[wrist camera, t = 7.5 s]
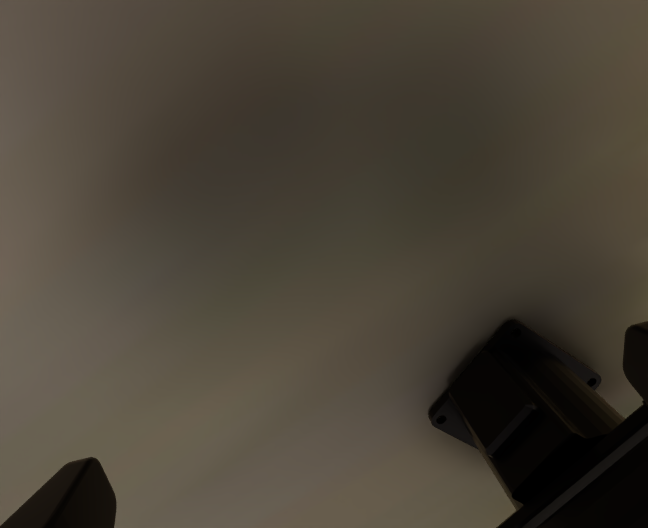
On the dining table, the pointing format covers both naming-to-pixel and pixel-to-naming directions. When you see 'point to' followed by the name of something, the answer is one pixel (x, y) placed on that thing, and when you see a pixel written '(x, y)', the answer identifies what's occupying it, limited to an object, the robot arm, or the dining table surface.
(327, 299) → the dining table surface
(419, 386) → the dining table surface
